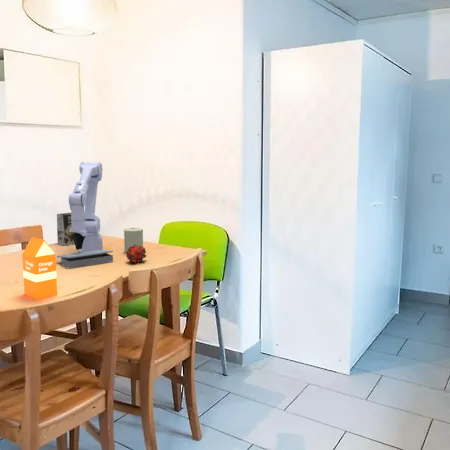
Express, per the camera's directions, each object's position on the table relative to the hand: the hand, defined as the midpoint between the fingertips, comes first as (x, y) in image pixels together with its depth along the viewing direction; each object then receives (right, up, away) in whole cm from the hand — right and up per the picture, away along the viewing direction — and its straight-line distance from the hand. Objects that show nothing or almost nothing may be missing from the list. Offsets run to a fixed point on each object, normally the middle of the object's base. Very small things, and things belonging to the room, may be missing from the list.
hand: (78, 249), depth 223 cm
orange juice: (+2, -13, -51) cm, 53 cm away
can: (+22, -3, +17) cm, 28 cm away
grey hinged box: (+6, -6, -6) cm, 10 cm away
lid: (+4, -2, -5) cm, 6 cm away
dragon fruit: (+26, -6, -3) cm, 27 cm away
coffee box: (-16, +1, +35) cm, 39 cm away
